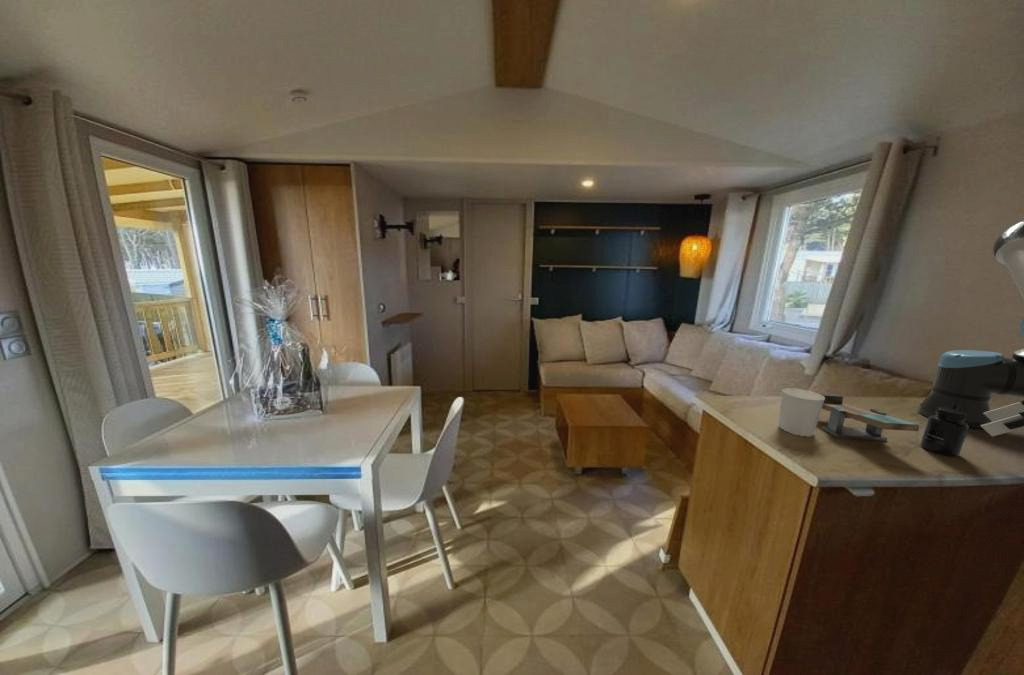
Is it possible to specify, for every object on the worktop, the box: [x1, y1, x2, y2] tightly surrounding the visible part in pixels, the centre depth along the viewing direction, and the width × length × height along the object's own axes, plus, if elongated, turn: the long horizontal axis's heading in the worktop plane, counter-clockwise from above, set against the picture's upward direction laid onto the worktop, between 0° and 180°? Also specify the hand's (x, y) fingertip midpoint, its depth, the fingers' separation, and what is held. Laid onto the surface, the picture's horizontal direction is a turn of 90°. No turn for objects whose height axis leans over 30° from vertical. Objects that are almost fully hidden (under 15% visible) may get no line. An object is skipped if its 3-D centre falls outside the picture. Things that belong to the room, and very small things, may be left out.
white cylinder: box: [778, 387, 825, 438], centre depth 102 cm, size 10×10×12 cm
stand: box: [821, 407, 888, 442], centre depth 100 cm, size 13×6×8 cm, turn 83°
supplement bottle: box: [920, 407, 970, 457], centre depth 91 cm, size 7×7×12 cm
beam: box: [819, 393, 920, 432], centre depth 99 cm, size 9×25×5 cm, turn 173°
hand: (987, 424), depth 84 cm, fingers open, 13 cm apart
